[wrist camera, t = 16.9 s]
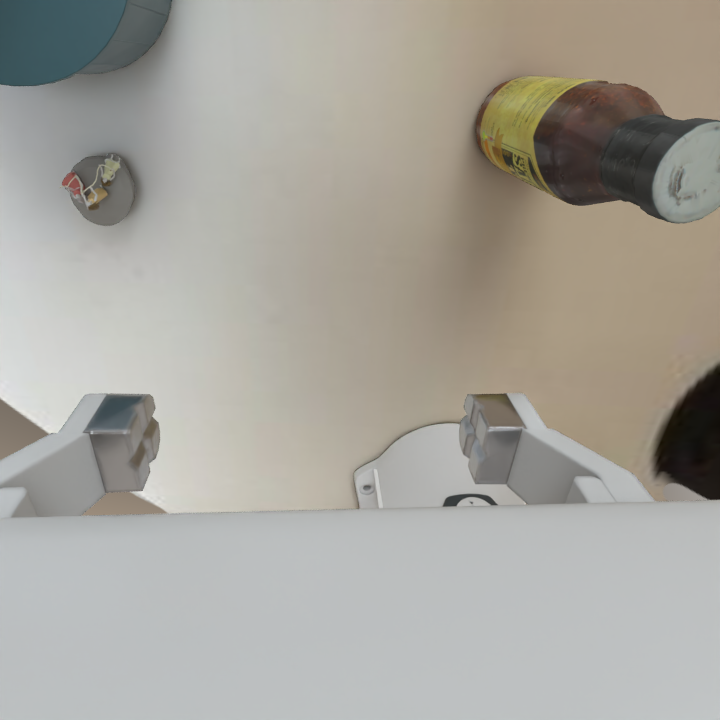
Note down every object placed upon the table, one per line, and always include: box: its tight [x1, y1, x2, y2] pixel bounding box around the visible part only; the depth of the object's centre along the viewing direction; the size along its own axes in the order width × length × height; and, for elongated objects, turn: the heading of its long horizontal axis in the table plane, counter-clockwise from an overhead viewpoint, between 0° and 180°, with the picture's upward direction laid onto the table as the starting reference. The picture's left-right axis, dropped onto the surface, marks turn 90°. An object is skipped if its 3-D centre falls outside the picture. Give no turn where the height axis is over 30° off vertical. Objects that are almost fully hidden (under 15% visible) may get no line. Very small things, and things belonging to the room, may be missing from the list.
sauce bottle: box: [476, 76, 720, 223], centre depth 28 cm, size 6×6×20 cm
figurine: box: [60, 154, 135, 226], centre depth 34 cm, size 5×4×6 cm
